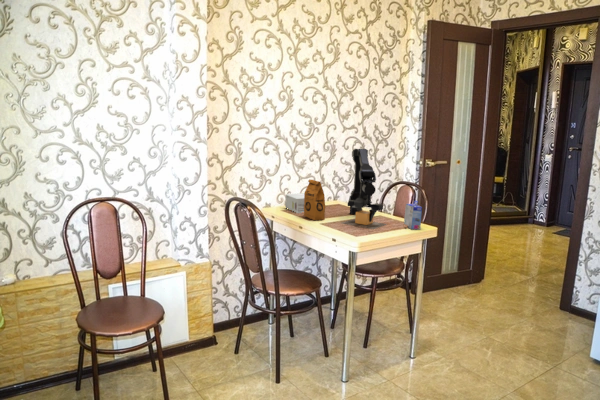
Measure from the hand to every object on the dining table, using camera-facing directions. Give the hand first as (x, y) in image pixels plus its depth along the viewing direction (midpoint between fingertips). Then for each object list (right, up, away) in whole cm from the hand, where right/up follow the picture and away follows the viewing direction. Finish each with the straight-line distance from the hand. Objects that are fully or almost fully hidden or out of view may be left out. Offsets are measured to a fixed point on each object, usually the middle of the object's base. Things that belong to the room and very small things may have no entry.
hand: (364, 220), depth 240 cm
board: (0, -3, 0) cm, 3 cm away
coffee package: (-26, 0, +15) cm, 30 cm away
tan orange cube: (0, -1, 0) cm, 1 cm away
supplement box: (-35, +4, +39) cm, 52 cm away
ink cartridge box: (+26, -4, 0) cm, 26 cm away
